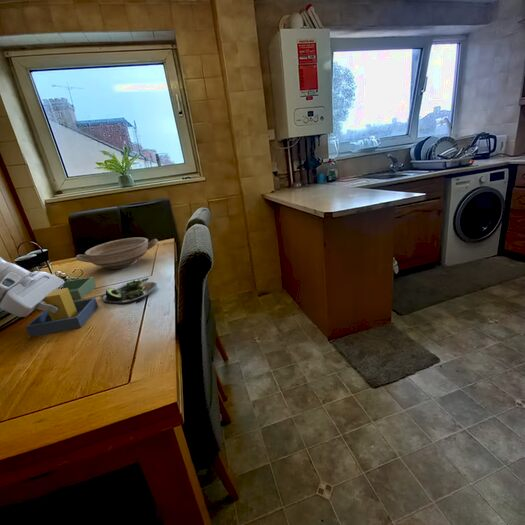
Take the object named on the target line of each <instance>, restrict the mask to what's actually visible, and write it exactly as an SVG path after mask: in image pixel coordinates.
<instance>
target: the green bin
mask: <svg viewBox="0 0 525 525" xmlns="http://www.w3.org/2000/svg"><path fill="white" fill-rule="evenodd" d="M64 282H65V283H64V285H63V287H64V288H68V290H69V292H70V295H71V297H72V300H73V301H78V300H82V298H84V297H85V296H87V295H89V294H90V293H91V292H92V291H93V290H94V289H95V288H96V283H95V279H94V277H93V276H90V277H84V278H77V279H72V280H71V279H70V280H64Z"/></svg>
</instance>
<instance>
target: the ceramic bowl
mask: <svg viewBox="0 0 525 525" xmlns="http://www.w3.org/2000/svg"><path fill="white" fill-rule="evenodd" d="M157 244H158V239H157V238H153V239H151V240H150V241H149V239H148V238H146V237H141V236H139V237H136V236H135V237H127V238H120V239H115V240H110V241H108V242H104V243H101V244H97V245H95V246H93V247H91V248H89V249H87V250H86V251H85V252H84V254H81V253H80V254H77V255H76V256H75V259H76V260H77V261H79V262H83V263H91V264H92V265H95V266H97V267H104V268H105V267H107V268H109V269H110V268H111V270H119V269H123V268H128V267H130V266H132V265H134V264H136V263H137V262H138V260H139V259H140V258H142V257H143V256H144V255H146V254H147V252H148V251H149V250H151V249H152V248H154V247H155V246H156V245H157ZM118 268H119V269H118Z"/></svg>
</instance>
